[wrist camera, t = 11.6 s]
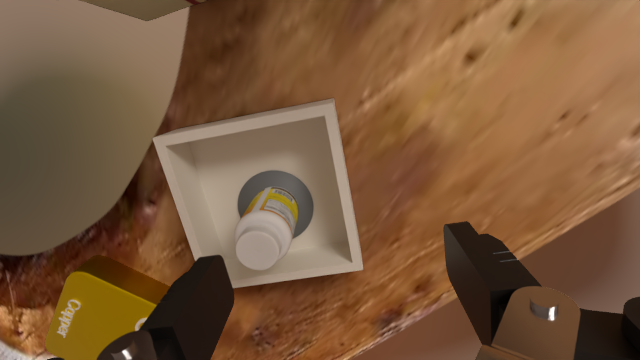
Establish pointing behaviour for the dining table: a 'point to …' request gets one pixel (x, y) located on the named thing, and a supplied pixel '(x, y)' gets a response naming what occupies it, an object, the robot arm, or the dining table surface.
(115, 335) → the element tile
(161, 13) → the gift box
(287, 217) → the supplement bottle
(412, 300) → the dining table surface
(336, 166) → the box
